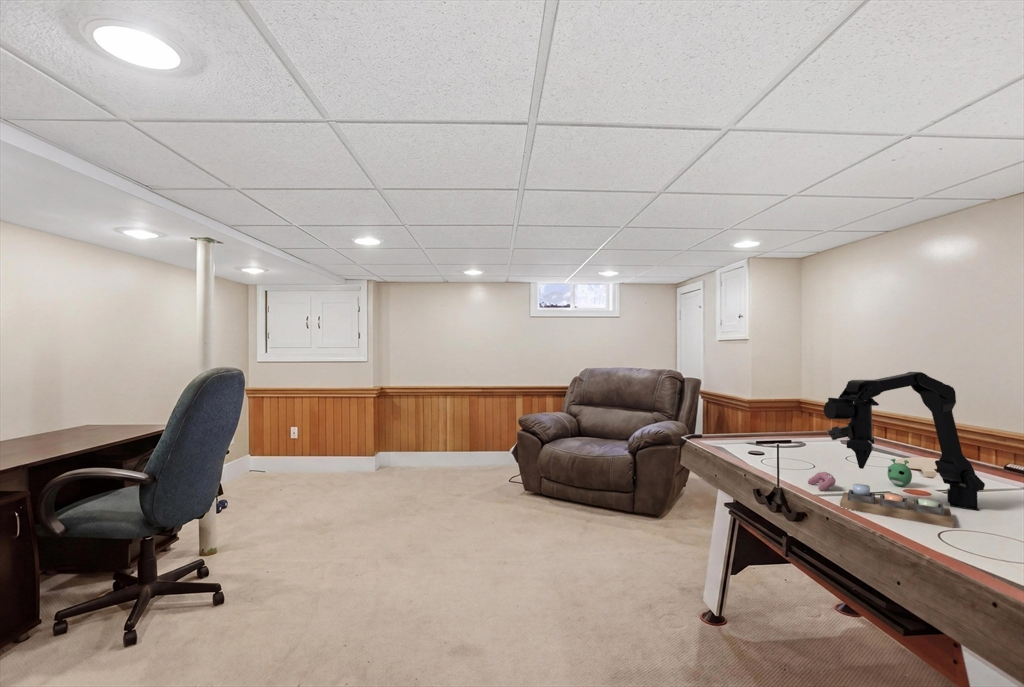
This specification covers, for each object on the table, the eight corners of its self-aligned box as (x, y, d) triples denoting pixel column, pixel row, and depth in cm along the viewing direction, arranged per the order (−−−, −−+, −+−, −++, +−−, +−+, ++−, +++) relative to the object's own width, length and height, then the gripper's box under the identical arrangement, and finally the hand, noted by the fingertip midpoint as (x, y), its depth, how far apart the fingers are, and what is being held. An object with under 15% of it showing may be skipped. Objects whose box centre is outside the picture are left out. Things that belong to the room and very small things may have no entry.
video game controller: (831, 496, 165) (840, 479, 165) (818, 490, 166) (827, 472, 166) (817, 488, 175) (826, 472, 175) (805, 482, 176) (814, 466, 176)
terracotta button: (903, 504, 145) (902, 495, 145) (902, 508, 141) (902, 498, 141) (884, 502, 148) (884, 492, 148) (884, 505, 144) (884, 495, 144)
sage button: (938, 510, 140) (937, 500, 140) (938, 514, 136) (938, 503, 136) (918, 507, 142) (918, 497, 143) (918, 510, 139) (918, 500, 139)
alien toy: (882, 485, 175) (882, 458, 176) (894, 482, 178) (893, 456, 179) (904, 489, 169) (904, 462, 169) (916, 487, 172) (915, 460, 172)
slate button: (870, 494, 150) (870, 485, 150) (869, 498, 147) (869, 488, 147) (853, 492, 153) (853, 483, 153) (852, 495, 149) (852, 485, 150)
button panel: (949, 515, 141) (949, 501, 142) (953, 527, 131) (953, 513, 131) (844, 498, 158) (844, 486, 158) (840, 508, 147) (839, 495, 148)
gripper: (833, 414, 163) (834, 460, 162) (827, 419, 148) (827, 469, 148) (874, 417, 155) (874, 465, 155) (871, 423, 141) (871, 475, 141)
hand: (861, 468), depth 150 cm, fingers closed
